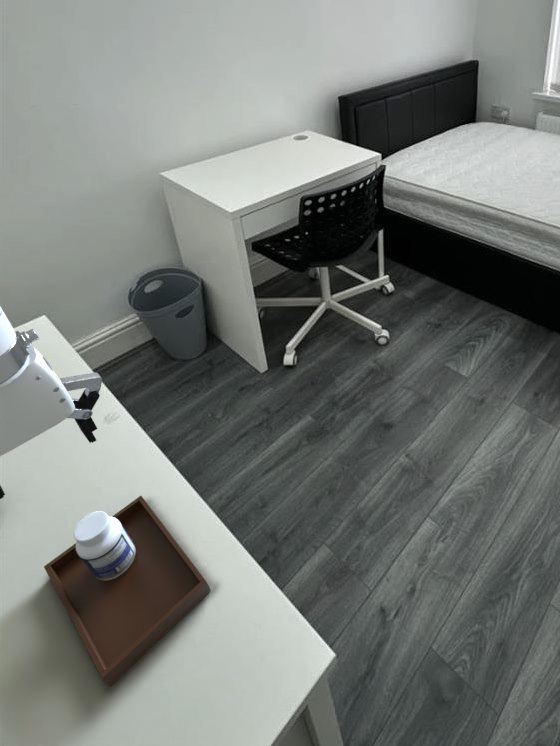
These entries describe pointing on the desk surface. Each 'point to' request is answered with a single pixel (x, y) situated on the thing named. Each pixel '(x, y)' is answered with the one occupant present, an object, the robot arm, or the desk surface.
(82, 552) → the pill bottle
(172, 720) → the desk surface
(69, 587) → the tray
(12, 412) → the robot arm
